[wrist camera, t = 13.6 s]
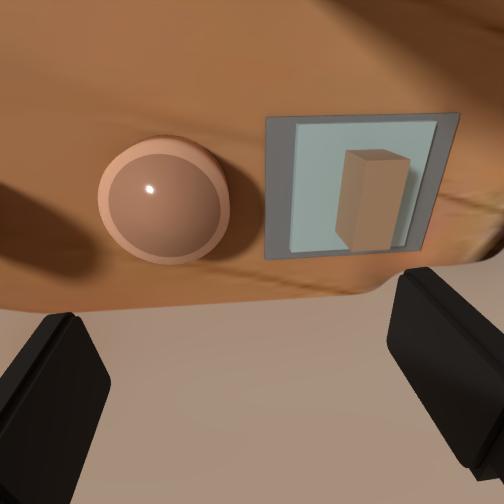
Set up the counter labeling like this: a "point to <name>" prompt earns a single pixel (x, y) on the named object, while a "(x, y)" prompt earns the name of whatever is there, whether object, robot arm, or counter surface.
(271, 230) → the mat
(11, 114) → the counter surface
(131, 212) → the bowl
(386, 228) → the cover
